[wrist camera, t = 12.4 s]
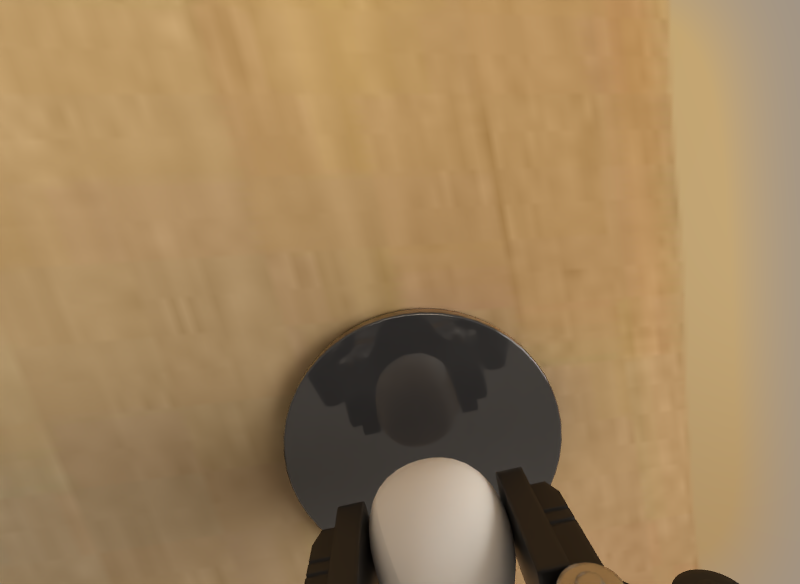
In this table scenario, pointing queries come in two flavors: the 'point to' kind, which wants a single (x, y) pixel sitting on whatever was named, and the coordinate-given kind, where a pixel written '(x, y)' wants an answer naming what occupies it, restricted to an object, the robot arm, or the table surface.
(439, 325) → the coaster
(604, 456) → the table surface
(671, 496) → the table surface
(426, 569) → the egg
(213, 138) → the table surface
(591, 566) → the robot arm
